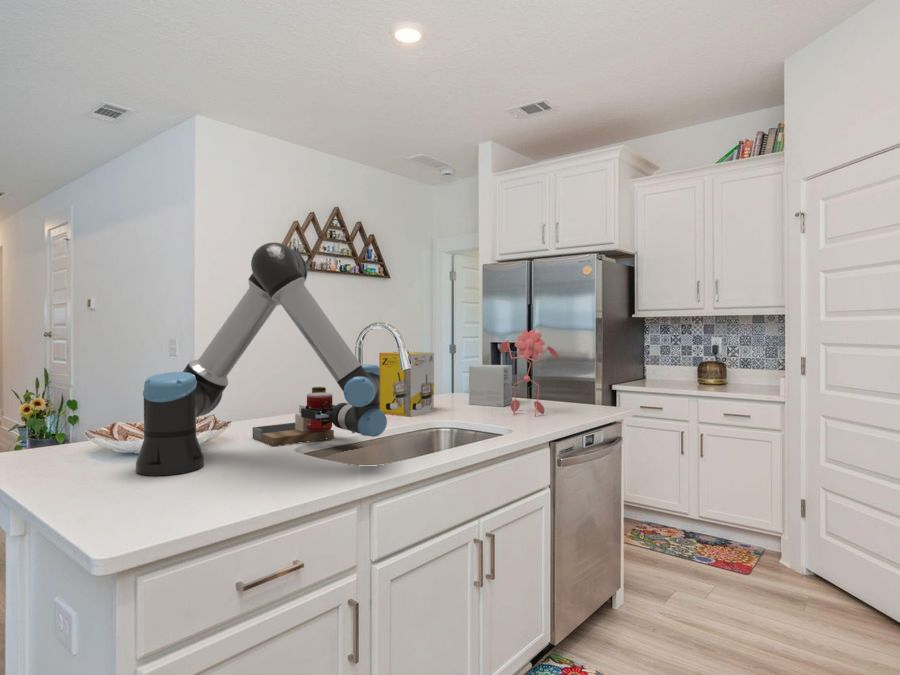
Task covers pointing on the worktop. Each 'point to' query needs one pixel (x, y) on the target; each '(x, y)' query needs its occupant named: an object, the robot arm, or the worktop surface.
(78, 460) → the worktop surface
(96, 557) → the worktop surface
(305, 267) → the robot arm
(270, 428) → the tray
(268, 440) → the board
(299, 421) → the off-white block
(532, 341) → the pink wire stick figure
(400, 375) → the packaging box
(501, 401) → the supplement box
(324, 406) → the canned food
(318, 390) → the condiment
